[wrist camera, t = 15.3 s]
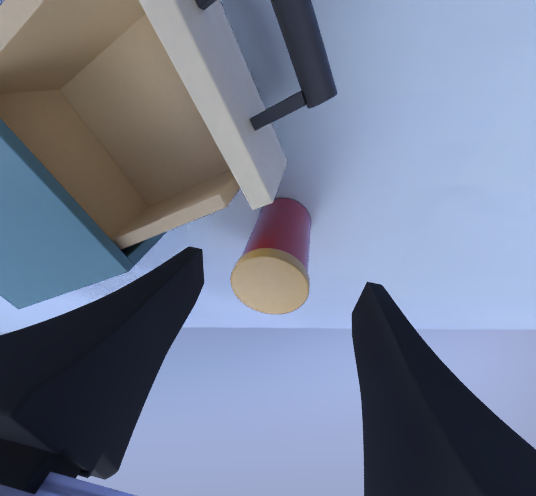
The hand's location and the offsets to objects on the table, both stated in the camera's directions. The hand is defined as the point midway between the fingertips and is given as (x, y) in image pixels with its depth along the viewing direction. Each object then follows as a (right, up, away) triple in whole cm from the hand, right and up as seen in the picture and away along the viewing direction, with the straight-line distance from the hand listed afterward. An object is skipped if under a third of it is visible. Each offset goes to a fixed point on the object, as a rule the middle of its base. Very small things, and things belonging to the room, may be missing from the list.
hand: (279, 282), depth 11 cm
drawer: (-5, +11, +5) cm, 13 cm away
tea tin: (+1, +4, +10) cm, 11 cm away
